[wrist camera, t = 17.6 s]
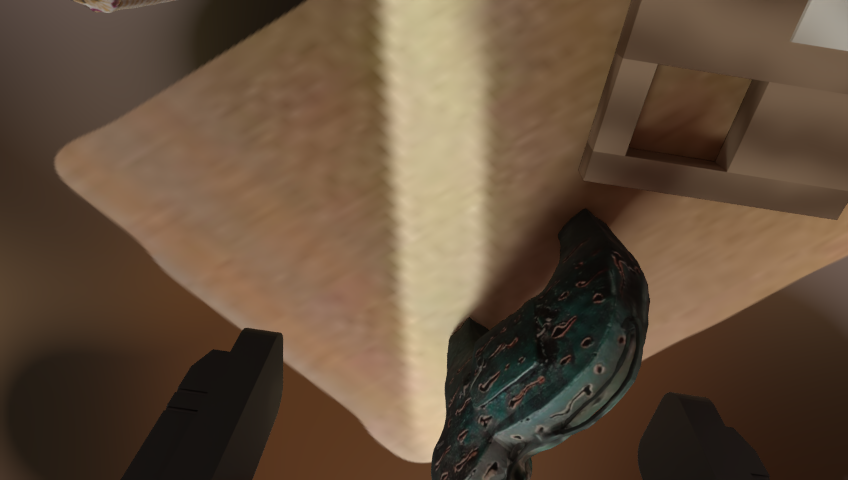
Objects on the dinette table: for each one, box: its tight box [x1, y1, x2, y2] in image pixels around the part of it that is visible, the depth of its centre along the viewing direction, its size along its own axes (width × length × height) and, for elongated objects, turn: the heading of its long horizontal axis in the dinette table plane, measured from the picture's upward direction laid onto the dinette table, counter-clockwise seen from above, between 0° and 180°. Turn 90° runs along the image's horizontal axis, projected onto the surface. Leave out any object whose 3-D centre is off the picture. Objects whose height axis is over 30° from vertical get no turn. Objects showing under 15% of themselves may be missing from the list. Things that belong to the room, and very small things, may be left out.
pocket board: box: [579, 0, 848, 220], centre depth 34 cm, size 21×19×2 cm
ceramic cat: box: [431, 209, 650, 480], centre depth 38 cm, size 20×6×20 cm, turn 144°
